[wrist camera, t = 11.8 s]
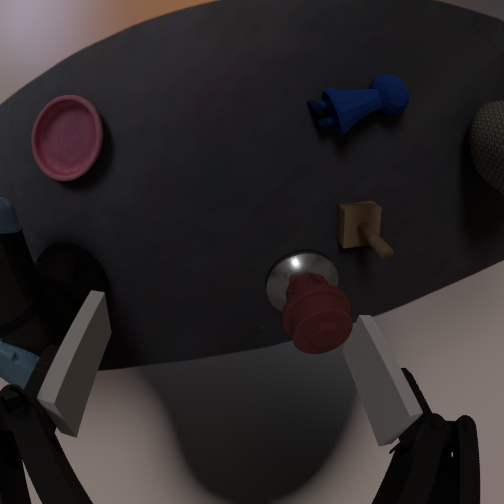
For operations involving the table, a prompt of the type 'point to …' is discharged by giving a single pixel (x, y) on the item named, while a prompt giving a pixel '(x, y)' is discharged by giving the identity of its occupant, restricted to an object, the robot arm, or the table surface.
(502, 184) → the planter
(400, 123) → the table surface
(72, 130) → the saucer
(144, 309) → the table surface
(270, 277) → the grey round disc
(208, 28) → the table surface
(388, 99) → the toy
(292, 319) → the mechanical component
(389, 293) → the table surface
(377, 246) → the brown wooden peg block
